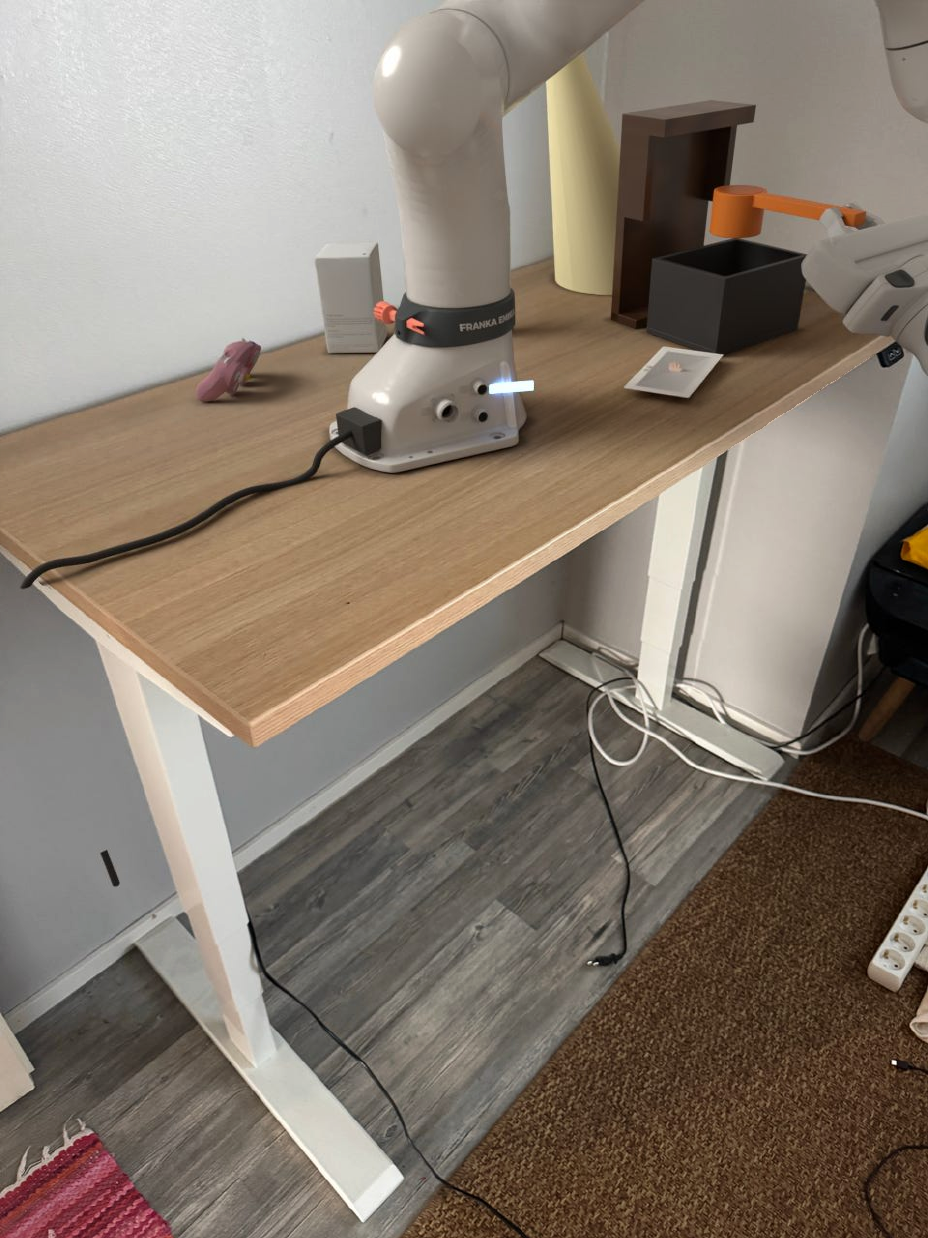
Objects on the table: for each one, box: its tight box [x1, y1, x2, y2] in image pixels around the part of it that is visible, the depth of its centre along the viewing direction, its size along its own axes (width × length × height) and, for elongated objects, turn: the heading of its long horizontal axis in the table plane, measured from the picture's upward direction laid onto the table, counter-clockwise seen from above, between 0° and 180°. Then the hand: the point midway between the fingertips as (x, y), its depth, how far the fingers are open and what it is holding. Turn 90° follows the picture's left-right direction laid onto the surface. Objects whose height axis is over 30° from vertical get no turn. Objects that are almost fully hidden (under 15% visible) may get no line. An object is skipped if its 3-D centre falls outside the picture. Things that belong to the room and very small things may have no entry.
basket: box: [646, 238, 808, 356], centre depth 122 cm, size 16×13×10 cm
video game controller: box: [195, 337, 262, 403], centre depth 113 cm, size 10×5×7 cm, turn 168°
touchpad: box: [623, 346, 724, 399], centre depth 111 cm, size 8×15×2 cm, turn 152°
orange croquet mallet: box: [708, 184, 866, 239], centre depth 111 cm, size 6×21×5 cm, turn 35°
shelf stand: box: [610, 99, 757, 330], centre depth 124 cm, size 16×8×26 cm, turn 125°
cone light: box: [545, 52, 620, 296], centre depth 135 cm, size 25×18×35 cm
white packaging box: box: [313, 241, 388, 354], centre depth 122 cm, size 7×7×13 cm
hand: (835, 210), depth 105 cm, fingers closed on orange croquet mallet
